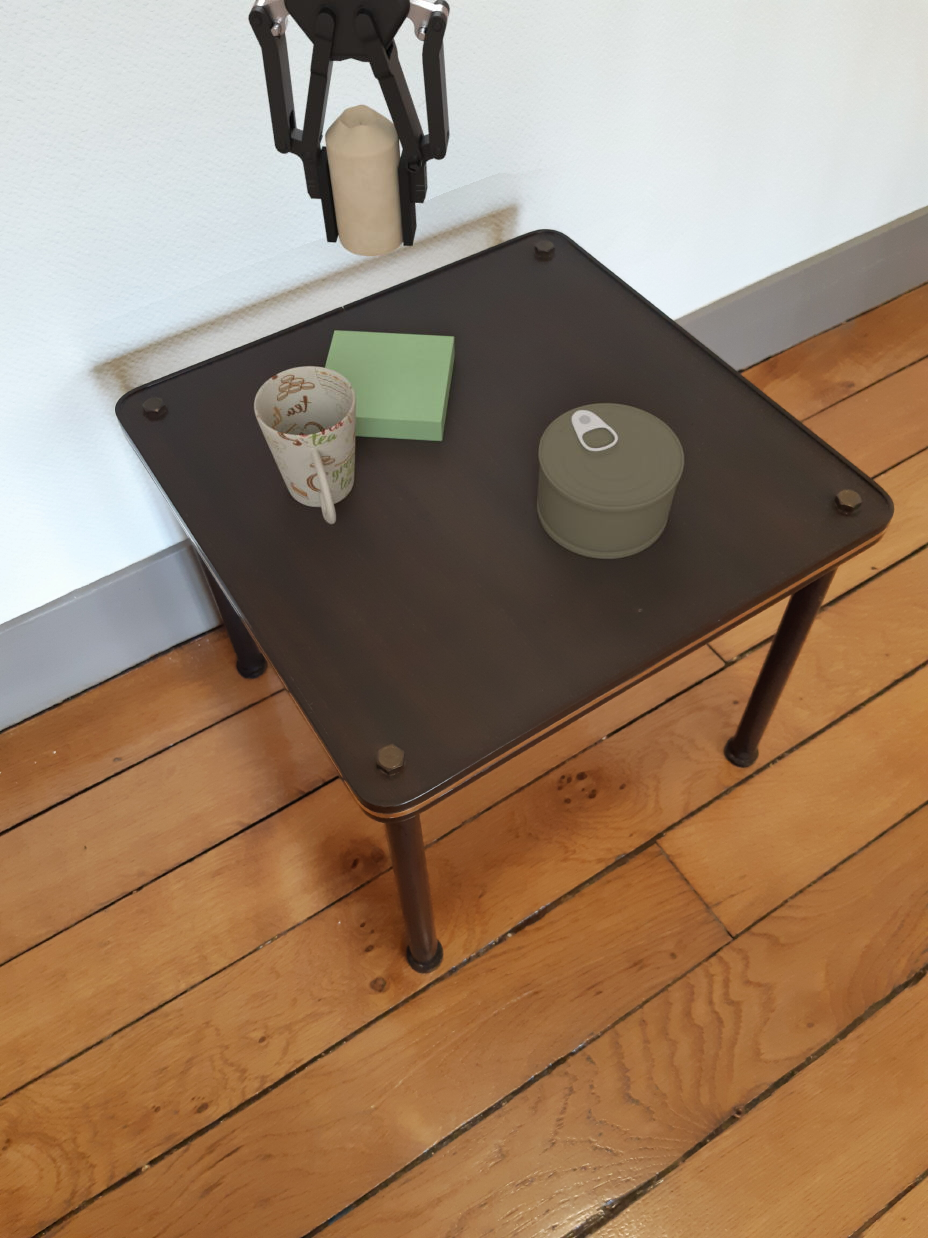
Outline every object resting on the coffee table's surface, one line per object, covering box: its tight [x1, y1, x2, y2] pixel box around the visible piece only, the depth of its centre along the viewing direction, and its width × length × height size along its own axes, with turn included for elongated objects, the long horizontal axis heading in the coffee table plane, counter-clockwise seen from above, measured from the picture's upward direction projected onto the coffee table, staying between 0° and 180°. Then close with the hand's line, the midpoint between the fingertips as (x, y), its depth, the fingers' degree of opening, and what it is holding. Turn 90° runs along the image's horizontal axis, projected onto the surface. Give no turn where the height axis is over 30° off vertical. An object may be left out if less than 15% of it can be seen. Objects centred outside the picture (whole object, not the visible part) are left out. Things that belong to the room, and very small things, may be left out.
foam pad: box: [324, 329, 456, 442], centre depth 91 cm, size 12×12×2 cm
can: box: [536, 402, 685, 560], centre depth 81 cm, size 12×12×7 cm
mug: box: [253, 365, 356, 525], centre depth 80 cm, size 8×13×10 cm, turn 18°
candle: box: [324, 104, 403, 257], centre depth 73 cm, size 6×6×10 cm
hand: (372, 233), depth 77 cm, fingers closed on candle, 5 cm apart
